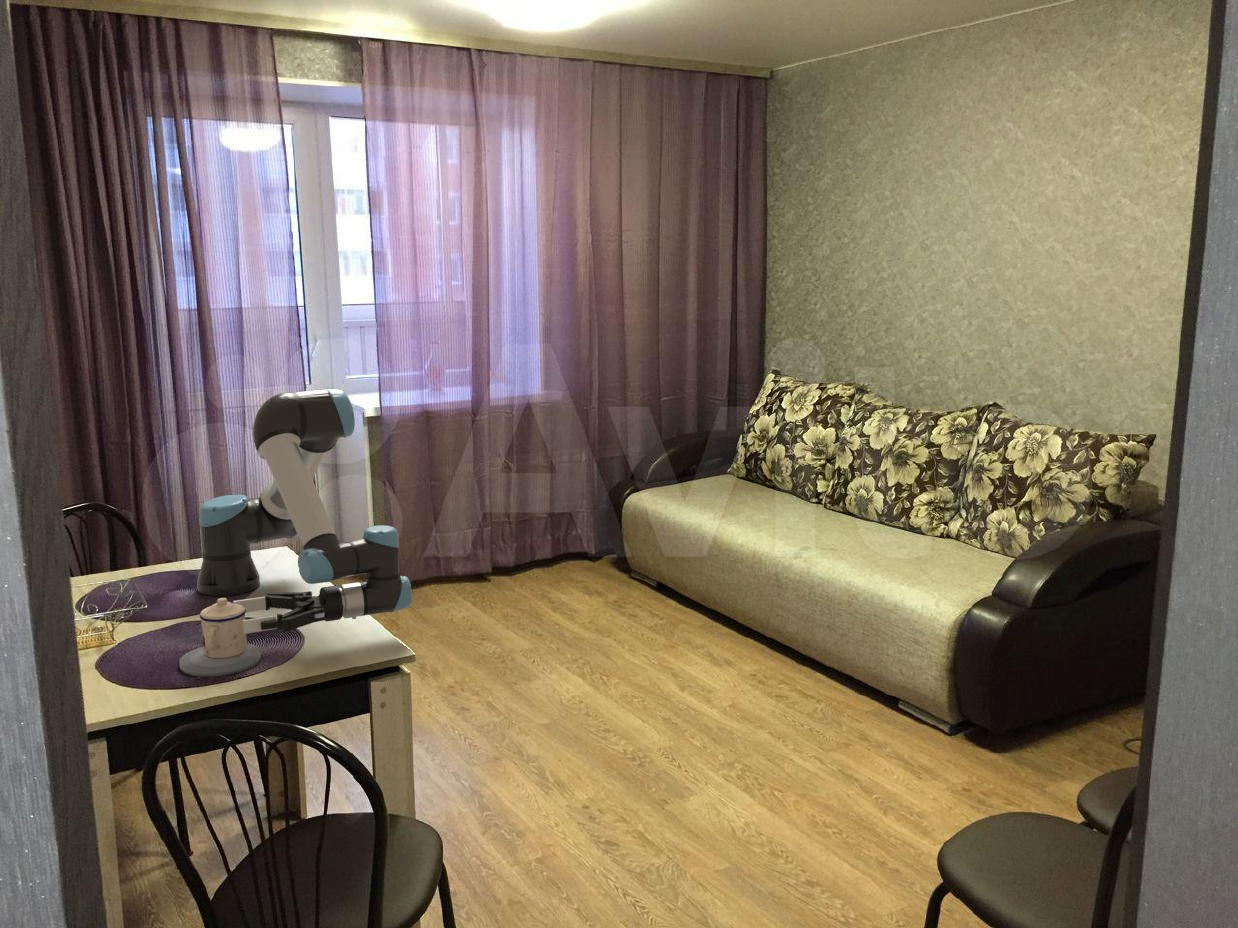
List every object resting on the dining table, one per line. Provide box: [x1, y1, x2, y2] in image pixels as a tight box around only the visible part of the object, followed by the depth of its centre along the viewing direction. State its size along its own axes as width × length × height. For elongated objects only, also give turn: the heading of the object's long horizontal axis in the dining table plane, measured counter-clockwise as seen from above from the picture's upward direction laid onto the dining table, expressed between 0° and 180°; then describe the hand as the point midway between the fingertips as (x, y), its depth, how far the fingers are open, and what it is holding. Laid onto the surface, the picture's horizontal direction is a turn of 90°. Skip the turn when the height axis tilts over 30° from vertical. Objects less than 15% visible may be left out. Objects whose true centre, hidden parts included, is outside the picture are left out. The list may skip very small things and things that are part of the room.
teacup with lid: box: [199, 597, 248, 658], centre depth 215 cm, size 12×9×12 cm
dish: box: [178, 643, 262, 678], centre depth 216 cm, size 16×16×1 cm
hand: (238, 616), depth 216 cm, fingers open, 13 cm apart
